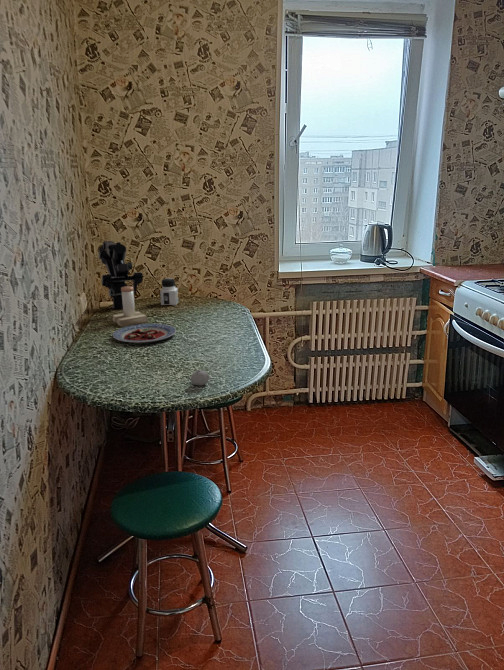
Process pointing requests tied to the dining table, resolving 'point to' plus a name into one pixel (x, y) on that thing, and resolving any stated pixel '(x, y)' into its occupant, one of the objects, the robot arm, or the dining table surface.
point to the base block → (129, 319)
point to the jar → (128, 301)
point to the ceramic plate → (144, 333)
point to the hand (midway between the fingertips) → (125, 294)
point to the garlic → (199, 377)
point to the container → (169, 292)
